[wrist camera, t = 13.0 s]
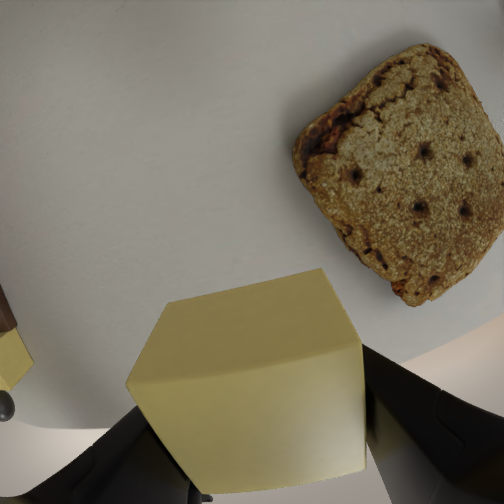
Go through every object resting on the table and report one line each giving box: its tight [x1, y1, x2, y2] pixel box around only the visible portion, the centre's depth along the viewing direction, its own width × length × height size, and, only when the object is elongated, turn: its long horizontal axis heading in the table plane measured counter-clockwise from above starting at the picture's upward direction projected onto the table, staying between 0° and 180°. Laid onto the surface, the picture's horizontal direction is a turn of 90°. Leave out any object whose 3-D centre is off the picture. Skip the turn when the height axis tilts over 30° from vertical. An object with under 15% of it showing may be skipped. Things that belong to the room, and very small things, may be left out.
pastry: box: [292, 43, 504, 307], centre depth 16 cm, size 17×17×3 cm
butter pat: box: [126, 268, 366, 494], centre depth 7 cm, size 4×4×4 cm
